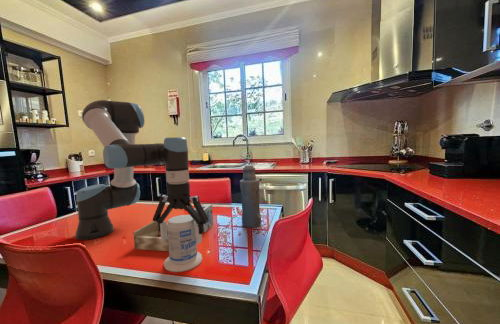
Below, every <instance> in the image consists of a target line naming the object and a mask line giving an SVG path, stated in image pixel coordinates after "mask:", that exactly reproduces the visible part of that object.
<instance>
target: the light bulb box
mask: <svg viewBox="0 0 500 324" xmlns="http://www.w3.org/2000/svg"><path fill="white" fill-rule="evenodd" d="M200 204H201V206H202V208H203V209H204V211H205V213H206V215H207V217H208V219H209V221H208V222H207V223H206V224H204V232H203V233H206V232H207V231H209V229H210V228H211V227H213V225H214V213H213V204H212V203H211V204H210V203H200ZM193 208H194V209H195V207H193ZM195 211H196V209H195ZM196 212H197V211H196ZM195 223H196V222H195ZM196 225H197V223H196Z"/></svg>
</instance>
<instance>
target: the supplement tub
mask: <svg viewBox="0 0 500 324" xmlns="http://www.w3.org/2000/svg"><path fill="white" fill-rule="evenodd" d="M167 224H168V235H167V238H168V242H169V251H168V255H169V256H168V257H169V258H170V262H171V263H173V264H176V265H183V264H187V263H190V262H192V261H193V260H195V258H196V257H197V252H198V248H197V246H198V244H197V240H196V223H195V220H194V219H193V218H192V217H191V216H190V214H181V215H175V216H173V217H170V218H169V219H168V220H167Z"/></svg>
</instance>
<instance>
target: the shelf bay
mask: <svg viewBox="0 0 500 324" xmlns="http://www.w3.org/2000/svg"><path fill="white" fill-rule="evenodd" d="M132 234H133V244H134V249H135V250H147V251H163V252H169V242H168V237H167V239H166V240H165V241H163V242H161V232H160V231H159V227H158V222H156V221H153V220H152V221H151V222H149V223H148V224H146V225H144V226H142V227H140V228H138V229H137V230H135V231H133V233H132ZM167 236H168V223H167Z"/></svg>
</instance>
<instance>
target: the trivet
mask: <svg viewBox="0 0 500 324" xmlns="http://www.w3.org/2000/svg"><path fill="white" fill-rule="evenodd" d="M202 260H203V255H202V254H201V252H199V251H197V257H196V258H195V260H193V261H192V262H190V263H187V264H183V265H176V264H173V263H171V262H170V258H169V256H168V257H166V259H164V261H163V267H164V269H165V270H166V271H168V272H171V273H182V272H187V271H190V270H193V269H195V268H197V266H199V265H200V264H201V263H202Z"/></svg>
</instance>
